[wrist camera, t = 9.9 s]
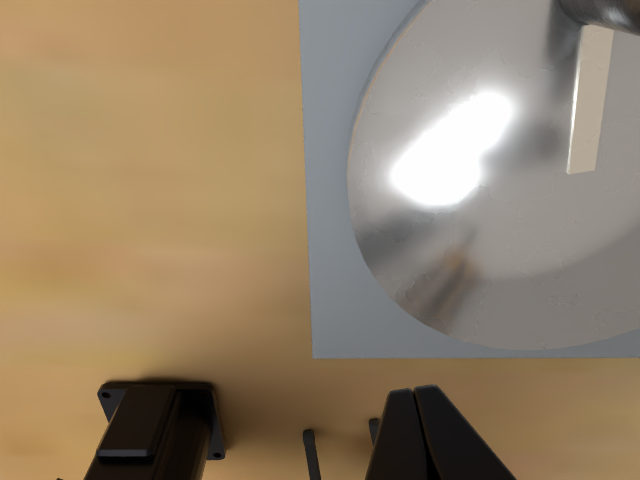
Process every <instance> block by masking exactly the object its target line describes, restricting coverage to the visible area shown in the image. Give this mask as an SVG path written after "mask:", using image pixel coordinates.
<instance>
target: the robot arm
mask: <svg viewBox="0 0 640 480" xmlns="http://www.w3.org/2000/svg"><path fill="white" fill-rule="evenodd" d="M97 395H98V398H99V400H100V403H101V405H102V408H103V410H104V412H105V415H106V417H107V420H108V422H109V424H108V427H107V429H106V431H105V433H104V435H103V437H102V439H101V441H100V443H99V445H98V448H97V450H96V454H95V456H94V458H93V460H92V463H91V465H90V467H89V469H88V471H87V473H86V475H85V477H84V480H202V476H203V472H204V468H205V464H206V460H222V459H224V458H225V455H226V445H225V440H224V435H223V430H222V425H221V420H220V415H219V411H218V406H217V401H216V396H215V391H214V388H213V387H212V386H211V385H209V384H206V383H107V384H103V385H101V387H100V389H99V391H98V393H97ZM57 480H63V479H60V478H57ZM365 480H517V479H516V478H515V477H514V476H513V475H512V473H511V472H510V471H509V470H508V469H507V467H506V466H505V465H504V464H503V463H502V462H501V460H500V459H499V458H498V457H497V456H496V454H495V453H494V452H493V451H492V450H491V448H490V447H489V446H488V445H487V444H486V443H485V441H484V440H483V439H482V438H481V437H480V435H479V434H478V433H477V432H476V431H475V429H474V428H473V427H472V426H471V425H470V424H469V422H468V421H467V420H466V419H465V418H464V416H463V415H462V414H461V413H460V412H459V410H458V409H457V408H456V407H455V406H454V405H453V403H452V402H451V401H450V400H449V399H448V397H447V396H446V395H445V394H444V393H443V391H442V390H441V389H440V388H439V387H438V386H437V385H433V384H432V385H426V386H419V387H415V388H414V390H413V391H412V390H411V389H409V388H406V389H400V390H393V391H390V392H389V394H388V396H387V399H386V403H385V407H384V411H383V414H382V418H381V422H380V425H379V429H378V433H377V437H376V440H375V444H374V448H373V451H372V455H371V459H370V462H369V466H368V470H367V474H366V477H365Z"/></svg>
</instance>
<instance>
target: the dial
mask: <svg viewBox="0 0 640 480" xmlns="http://www.w3.org/2000/svg"><path fill="white" fill-rule="evenodd" d="M346 176H347V188H348V199H349V210H350V218H351V222H352V226H353V230H354V234H355V239H356V242H357V244H358V247H359V249H360V251H361V254H362V256H363V259H364V261H365V263H366V265H367V266H368V268H369V270H370V271H371V273H372V275H373V276H374V278H375V280H376V281H377V282H378V284H379V285H380V286H381V287H382V288H383V290H384V291H385V292H386V293H387V294H388V296H389V297H390V298H391V299H392V300H393V301H394V302H395V303H397V304H398V305H399V306H400V307H401V308H402V309H403V310H404V311H406V312H407V313H408V314H410V315H411V316H413V317H414V318H416V319H417V320H419V321H420V322H422V323H423V324H424V325H426V326H428V327H430V328H432V329H434V330H436V331H438V332H440V333H442V334H445V335H447V336H450V337H453V338H456V339H459V340H462V341H464V342H468V343H473V344H477V345H481V346H486V347H493V348H501V349H509V350H544V349H558V348H565V347H571V346H577V345H583V344H588V343H592V342H596V341H600V340H604V339H608V338H611V337H614V336H617V335H620V334H623V333H626V332H629V331H632V330H635V329H637V328H640V0H420V1H419V2H418V3H417V4H416V5H415V6H414V8H413V9H412V10H411V11H410V13H409V14H408V15H407V16H406V17H405V19H404V20H403V21H402V22H401V24H400V25H399V26H398V27H397V29H396V30H395V31H394V32H393V34H392V36H391V37H390V39H389V40H388V42H387V44H386V45H385V47H384V48H383V50H382V52H381V53H380V55H379V56H378V58H377V59H376V61H375V63H374V65H373V67H372V70H371V72H370V74H369V76H368V78H367V80H366V82H365V84H364V87H363V89H362V91H361V94H360V97H359V100H358V103H357V107H356V110H355V113H354V116H353V119H352V124H351V130H350V135H349V140H348V146H347V166H346Z"/></svg>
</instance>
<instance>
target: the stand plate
mask: <svg viewBox="0 0 640 480" xmlns="http://www.w3.org/2000/svg"><path fill="white" fill-rule="evenodd" d="M298 1H299V26H300V51H301V76H302V102H303V127H304V152H305V177H306V203H307V228H308V253H309V278H310V304H311V329H312V354H313V359H353V358H640V328H637V329H635V330H632V331H629V332H626V333H623V334H620V335H617V336H614V337H611V338H608V339H604V340H600V341H596V342H592V343H588V344H583V345H577V346H571V347H565V348H558V349H544V350H509V349H501V348H493V347H486V346H481V345H477V344H473V343H468V342H464V341H462V340H459V339H456V338H453V337H450V336H447V335H445V334H442V333H440V332H438V331H436V330H434V329H432V328H430V327H428V326H426V325H424V324H423V323H422V322H420V321H419V320H417V319H416V318H414V317H413V316H411V315H410V314H408V313H407V312H406V311H404V310H403V309H402V308H401V307H400V306H399V305H398V304H397V303H395V302H394V301H393V300H392V299H391V298H390V297H389V296H388V294H387V293H386V292H385V291H384V290H383V288H382V287H381V286H380V285H379V284H378V282H377V281H376V280H375V278H374V276H373V275H372V273H371V271H370V270H369V268H368V266H367V265H366V263H365V261H364V259H363V256H362V254H361V251H360V249H359V247H358V244H357V242H356V239H355V234H354V230H353V226H352V222H351V218H350V210H349V199H348V188H347V176H346V166H347V146H348V140H349V135H350V130H351V124H352V119H353V116H354V113H355V110H356V107H357V103H358V100H359V97H360V94H361V91H362V89H363V87H364V84H365V82H366V80H367V78H368V76H369V74H370V72H371V70H372V67H373V65H374V63H375V61H376V59H377V58H378V56H379V55H380V53H381V52H382V50H383V48H384V47H385V45H386V44H387V42H388V40H389V39H390V37H391V36H392V34H393V32H394V31H395V30H396V29H397V27H398V26H399V25H400V24H401V22H402V21H403V20H404V19H405V17H406V16H407V15H408V14H409V13H410V11H411V10H412V9H413V8H414V6H415V5H416V4H417V3H418V2H419V1H420V0H298Z"/></svg>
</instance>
